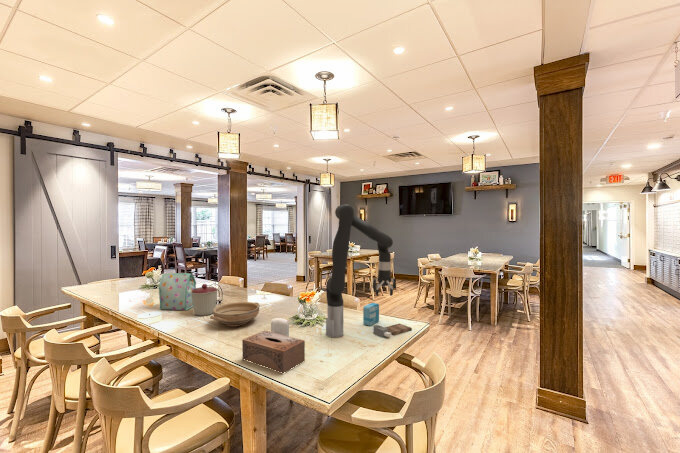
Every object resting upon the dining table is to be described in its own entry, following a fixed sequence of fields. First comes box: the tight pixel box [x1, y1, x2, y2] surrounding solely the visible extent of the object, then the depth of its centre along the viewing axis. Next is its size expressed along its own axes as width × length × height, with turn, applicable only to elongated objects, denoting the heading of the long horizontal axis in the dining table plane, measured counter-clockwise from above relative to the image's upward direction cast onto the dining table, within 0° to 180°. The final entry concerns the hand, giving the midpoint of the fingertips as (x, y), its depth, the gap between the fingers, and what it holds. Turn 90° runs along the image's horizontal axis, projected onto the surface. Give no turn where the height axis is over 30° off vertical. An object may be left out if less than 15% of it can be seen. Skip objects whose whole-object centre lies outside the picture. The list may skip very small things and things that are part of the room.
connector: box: [372, 324, 392, 338], centre depth 179 cm, size 12×4×4 cm, turn 36°
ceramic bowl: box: [210, 301, 261, 327], centre depth 201 cm, size 37×28×10 cm
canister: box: [190, 283, 219, 317], centre depth 221 cm, size 18×18×21 cm
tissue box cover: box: [241, 330, 306, 374], centre depth 146 cm, size 26×14×10 cm, turn 58°
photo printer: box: [270, 317, 290, 337], centre depth 171 cm, size 10×4×12 cm, turn 72°
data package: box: [362, 302, 380, 327], centre depth 200 cm, size 12×4×12 cm, turn 142°
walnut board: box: [384, 323, 413, 337], centre depth 186 cm, size 15×10×2 cm, turn 126°
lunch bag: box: [158, 272, 197, 311], centre depth 236 cm, size 23×16×27 cm
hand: (384, 295), depth 189 cm, fingers open, 8 cm apart
